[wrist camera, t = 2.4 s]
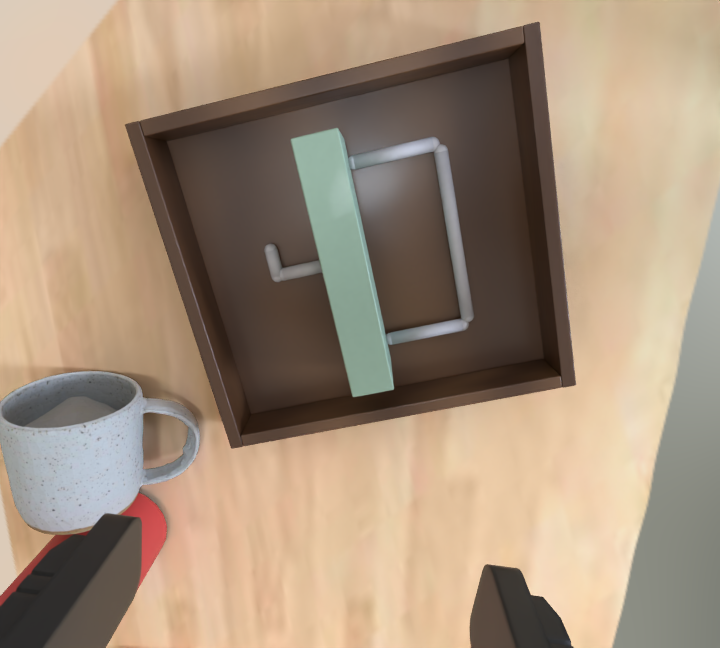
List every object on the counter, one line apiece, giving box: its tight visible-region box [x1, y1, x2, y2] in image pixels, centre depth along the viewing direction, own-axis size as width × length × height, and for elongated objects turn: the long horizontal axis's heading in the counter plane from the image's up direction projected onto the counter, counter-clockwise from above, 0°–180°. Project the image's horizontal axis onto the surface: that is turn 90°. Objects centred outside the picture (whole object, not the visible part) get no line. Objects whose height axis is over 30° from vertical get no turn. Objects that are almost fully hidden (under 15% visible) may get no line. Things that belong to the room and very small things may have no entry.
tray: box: [125, 22, 576, 448], centre depth 28 cm, size 22×20×4 cm
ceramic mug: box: [0, 371, 200, 535], centre depth 30 cm, size 11×8×8 cm
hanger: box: [264, 128, 474, 397], centre depth 27 cm, size 12×14×5 cm
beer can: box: [0, 492, 167, 606], centre depth 30 cm, size 7×7×12 cm
